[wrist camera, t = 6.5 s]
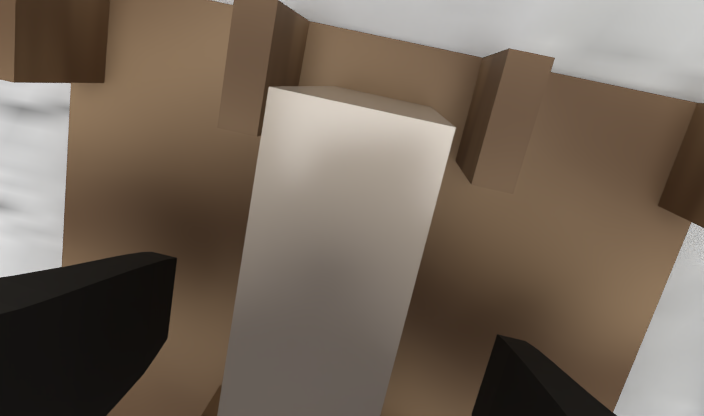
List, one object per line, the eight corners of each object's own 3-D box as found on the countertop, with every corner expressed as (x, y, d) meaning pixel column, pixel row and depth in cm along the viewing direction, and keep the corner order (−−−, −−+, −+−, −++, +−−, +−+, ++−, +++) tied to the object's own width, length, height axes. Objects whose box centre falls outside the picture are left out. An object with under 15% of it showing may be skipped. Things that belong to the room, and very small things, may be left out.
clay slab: (348, 442, 14) (309, 682, 9) (270, 422, 14) (181, 646, 9) (430, 106, 12) (456, 127, 6) (334, 85, 12) (268, 86, 6)
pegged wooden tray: (549, 515, 15) (597, 658, 12) (75, 393, 16) (-28, 489, 12) (710, 109, 12) (854, 120, 8) (101, -20, 13) (-29, -64, 9)
